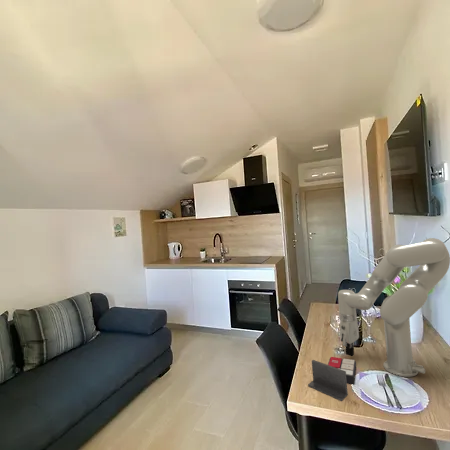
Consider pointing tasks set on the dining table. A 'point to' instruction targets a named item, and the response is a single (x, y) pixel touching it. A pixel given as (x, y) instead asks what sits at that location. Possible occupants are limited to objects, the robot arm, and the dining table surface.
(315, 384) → the bookend
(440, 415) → the dining table surface
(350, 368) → the red and tan block
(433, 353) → the dining table surface
